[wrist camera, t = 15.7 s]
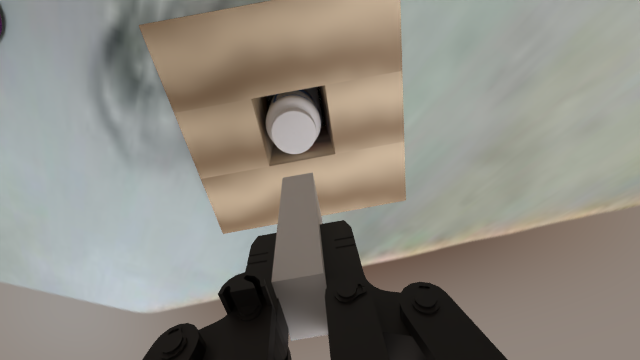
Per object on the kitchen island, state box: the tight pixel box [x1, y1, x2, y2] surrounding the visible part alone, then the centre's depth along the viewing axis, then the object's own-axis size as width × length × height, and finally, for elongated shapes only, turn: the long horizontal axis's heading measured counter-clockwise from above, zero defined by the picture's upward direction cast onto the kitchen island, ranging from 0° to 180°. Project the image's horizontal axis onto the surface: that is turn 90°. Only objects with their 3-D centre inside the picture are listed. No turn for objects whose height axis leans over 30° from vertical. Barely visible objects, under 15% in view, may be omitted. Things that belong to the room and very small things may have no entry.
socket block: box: [139, 0, 406, 234], centre depth 30 cm, size 20×20×10 cm
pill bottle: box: [266, 89, 321, 154], centre depth 29 cm, size 6×5×10 cm
